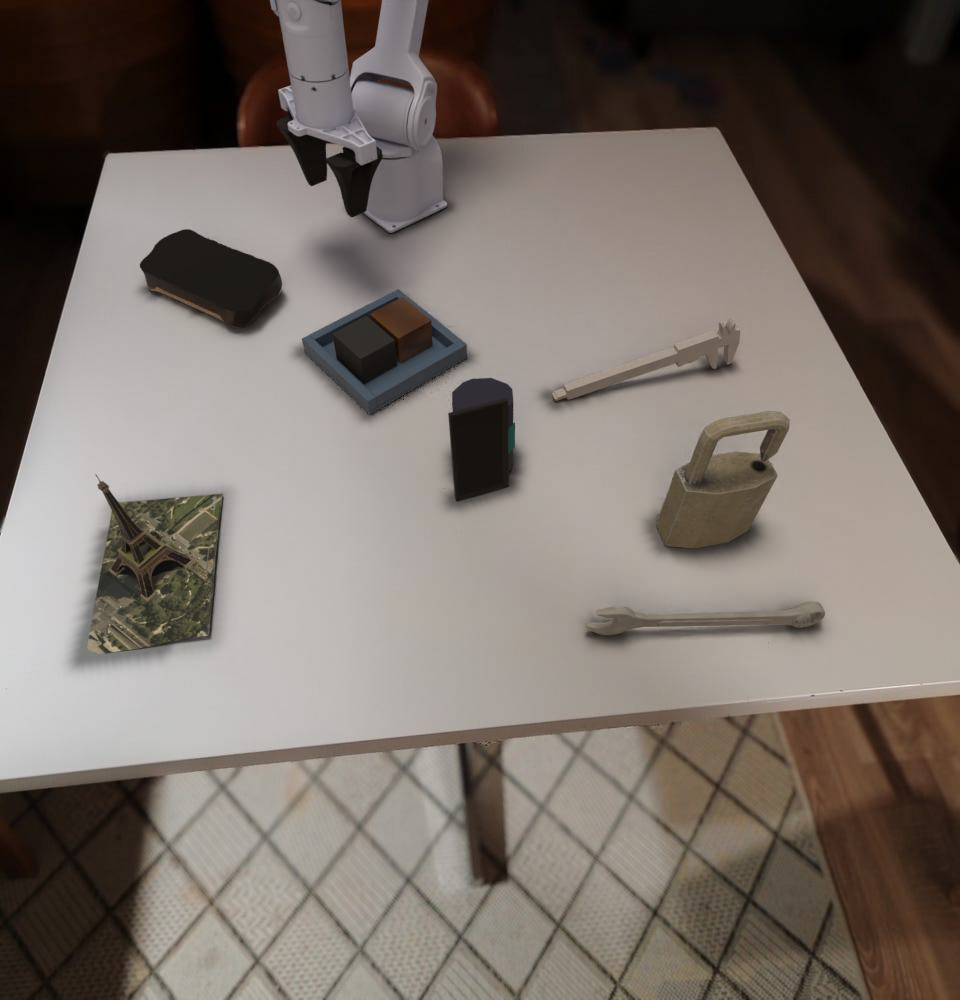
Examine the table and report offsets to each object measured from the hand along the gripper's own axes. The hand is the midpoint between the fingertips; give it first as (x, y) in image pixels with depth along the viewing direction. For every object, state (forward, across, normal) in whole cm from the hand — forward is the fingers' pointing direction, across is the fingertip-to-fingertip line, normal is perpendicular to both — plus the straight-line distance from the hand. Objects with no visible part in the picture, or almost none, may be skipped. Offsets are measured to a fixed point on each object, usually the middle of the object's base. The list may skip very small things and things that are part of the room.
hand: (337, 197), depth 85 cm
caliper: (+10, +36, +13) cm, 39 cm away
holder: (+9, +15, -6) cm, 19 cm away
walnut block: (+9, +15, -3) cm, 18 cm away
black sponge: (+10, -6, -14) cm, 18 cm away
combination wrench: (+10, +58, -5) cm, 59 cm away
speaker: (+10, +33, -8) cm, 35 cm away
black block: (+9, +15, -8) cm, 19 cm away
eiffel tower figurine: (+10, +24, -37) cm, 45 cm away
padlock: (+10, +52, +3) cm, 53 cm away
